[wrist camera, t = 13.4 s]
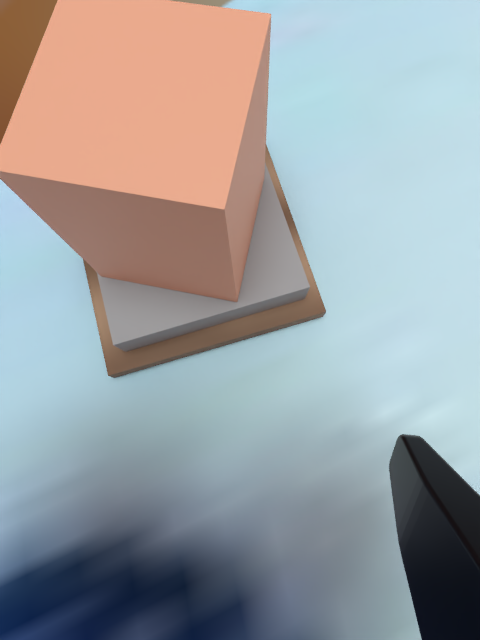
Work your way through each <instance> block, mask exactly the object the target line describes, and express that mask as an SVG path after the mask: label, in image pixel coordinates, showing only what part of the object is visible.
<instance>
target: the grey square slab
mask: <svg viewBox="0 0 480 640" xmlns="http://www.w3.org/2000/svg"><path fill="white" fill-rule="evenodd" d="M97 276H98V280H99V285H100V289H101V293H102V298H103V302H104V307H105V311H106V315H107V320H108V324H109V329H110V333H111V337H112V342H113V345H114V346H116V347H117V348H119V349H121V350H123V351H125V352H127V351H131V350H134V349H137V348H141V347H144V346H147V345H151V344H154V343H158V342H161V341H164V340H168V339H171V338H174V337H178V336H181V335H185V334H188V333H191V332H195V331H198V330H201V329H205V328H208V327H211V326H215V325H218V324H222V323H225V322H228V321H232V320H235V319H238V318H242V317H245V316H249V315H252V314H255V313H259V312H262V311H265V310H269V309H272V308H276V307H279V306H282V305H286V304H289V303H292V302H296V301H299V300H303V299H305V297H306V295H307V293H308V291H309V288H310V285H309V283H308V280H307V277H306V274H305V272H304V269H303V266H302V263H301V260H300V258H299V255H298V252H297V249H296V247H295V244H294V241H293V238H292V235H291V233H290V230H289V227H288V224H287V222H286V219H285V216H284V213H283V210H282V208H281V205H280V202H279V199H278V197H277V194H276V191H275V188H274V185H273V183H272V180H271V177H270V174H269V172H268V169H267V166H266V163H265V174H264V182H263V186H262V191H261V195H260V200H259V205H258V209H257V214H256V218H255V223H254V228H253V232H252V237H251V241H250V246H249V251H248V255H247V260H246V264H245V269H244V274H243V278H242V283H241V288H240V292H239V297H238V301H237V302H234V301H228V300H223V299H218V298H212V297H207V296H202V295H197V294H191V293H186V292H181V291H175V290H170V289H165V288H160V287H154V286H149V285H144V284H139V283H133V282H128V281H123V280H117V279H112V278H107V277H102V276H100V275H99V274H98V273H97Z"/></svg>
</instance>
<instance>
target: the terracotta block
mask: <svg viewBox="0 0 480 640" xmlns="http://www.w3.org/2000/svg"><path fill="white" fill-rule="evenodd" d="M270 30H271V14H268V13H261V12H253V11H245V10H238V9H230V8H222V7H215V6H207V5H199V4H191V3H184V2H176V1H168V0H58V2H57V4H56V6H55V9H54V11H53V14H52V17H51V19H50V21H49V24H48V27H47V29H46V32H45V34H44V37H43V39H42V42H41V44H40V47H39V49H38V52H37V54H36V57H35V59H34V62H33V64H32V67H31V69H30V72H29V74H28V77H27V79H26V82H25V84H24V87H23V90H22V92H21V95H20V98H19V100H18V102H17V105H16V107H15V110H14V112H13V115H12V117H11V120H10V122H9V125H8V127H7V130H6V132H5V135H4V137H3V140H2V142H1V145H0V179H1V180H2V181H3V182H4V183H5V184H6V185H7V186H8V187H9V188H10V189H11V190H12V191H13V192H15V193H16V194H17V195H18V196H19V197H20V198H21V199H22V200H23V201H24V202H25V203H26V204H27V205H28V206H29V207H30V208H31V209H32V210H33V211H34V212H35V213H36V214H37V215H38V216H39V217H40V218H41V219H42V220H43V221H44V222H46V223H47V224H48V225H49V226H50V227H51V228H52V229H53V230H54V231H55V232H56V233H57V234H58V235H59V236H60V237H61V238H62V239H63V240H64V241H65V242H66V243H67V244H68V245H69V246H70V247H71V248H72V249H73V250H74V251H75V252H77V253H78V254H79V255H80V256H81V257H82V258H83V259H84V260H85V261H86V262H87V263H88V264H89V265H90V266H91V267H92V268H93V269H94V270H95V271H96V272H97V273H98V274H99V275H100V276H102V277H107V278H112V279H117V280H123V281H128V282H133V283H139V284H144V285H149V286H154V287H160V288H165V289H170V290H175V291H181V292H186V293H191V294H197V295H202V296H207V297H212V298H218V299H223V300H228V301H234V302H237V301H238V297H239V292H240V288H241V283H242V278H243V274H244V269H245V264H246V260H247V255H248V251H249V246H250V241H251V237H252V232H253V228H254V223H255V218H256V214H257V209H258V205H259V200H260V195H261V191H262V186H263V182H264V174H265V150H266V126H267V102H268V78H269V54H270Z"/></svg>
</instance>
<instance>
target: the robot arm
mask: <svg viewBox="0 0 480 640" xmlns="http://www.w3.org/2000/svg"><path fill="white" fill-rule="evenodd" d="M389 472H390V480H391V488H392V496H393V503H394V511H395V519H396V527H397V534H398V541H399V546H400V551H401V555H402V560H403V564H404V568H405V572H406V576H407V580H408V584H409V588H410V592H411V597H412V601H413V605H414V609H415V613H416V617H417V621H418V625H419V629H420V634H421V638H422V640H480V495H479V494H478V493H477V492H476V491H475V490H474V489H473V488H472V487H471V486H470V485H469V484H468V483H467V482H466V481H465V480H464V479H463V478H462V477H461V476H460V475H459V474H458V473H457V472H456V471H455V470H454V469H453V468H452V467H451V466H450V465H449V464H448V463H447V462H446V461H445V460H444V459H443V458H442V457H441V456H440V455H439V454H438V453H437V452H436V451H435V450H434V449H433V448H432V447H431V446H430V445H429V444H428V443H427V442H426V441H425V440H424V439H423V438H421V437H420V436H415V435H405V434H402V435H400V436H399V437H398V439H397V441H396V444H395V447H394V450H393V453H392V456H391V459H390V464H389Z"/></svg>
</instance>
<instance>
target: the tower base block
mask: <svg viewBox="0 0 480 640" xmlns="http://www.w3.org/2000/svg"><path fill="white" fill-rule="evenodd" d="M265 163H266V166H267V169H268V172H269V174H270V177H271V180H272V183H273V185H274V188H275V191H276V194H277V197H278V199H279V202H280V205H281V208H282V210H283V213H284V216H285V219H286V222H287V224H288V227H289V230H290V233H291V235H292V238H293V241H294V244H295V247H296V249H297V252H298V255H299V258H300V260H301V263H302V266H303V269H304V272H305V274H306V277H307V280H308V283H309V285H310V288H309V291H308V293H307V295H306V297H305V299H303V300H299V301H296V302H292V303H289V304H286V305H282V306H279V307H276V308H272V309H269V310H265V311H262V312H259V313H255V314H252V315H249V316H245V317H242V318H238V319H235V320H232V321H228V322H225V323H222V324H218V325H215V326H211V327H208V328H205V329H201V330H198V331H195V332H191V333H188V334H185V335H181V336H178V337H174V338H171V339H168V340H164V341H161V342H158V343H154V344H151V345H147V346H144V347H141V348H137V349H134V350H131V351H127V352H125V351H123V350H121V349H119V348H117V347H116V346H114V345H113V342H112V337H111V333H110V329H109V324H108V320H107V315H106V311H105V307H104V302H103V298H102V293H101V289H100V285H99V280H98V276H97V272H96V271H95V270H94V269H93V268H92V267H91V266H90V265H89V264H88V263H87V262H86V261H85V260H84V259H83V261H84V265H85V270H86V275H87V279H88V284H89V289H90V293H91V298H92V303H93V307H94V312H95V317H96V321H97V326H98V331H99V335H100V340H101V344H102V349H103V354H104V358H105V363H106V368H107V372H108V376H111V377H114V378H115V377H119V376H122V375H126V374H129V373H132V372H136V371H139V370H143V369H146V368H149V367H153V366H156V365H160V364H163V363H166V362H170V361H173V360H177V359H180V358H183V357H187V356H190V355H194V354H197V353H200V352H204V351H207V350H211V349H214V348H217V347H221V346H224V345H228V344H231V343H234V342H238V341H241V340H245V339H248V338H251V337H255V336H258V335H262V334H265V333H268V332H272V331H275V330H279V329H282V328H286V327H289V326H292V325H296V324H299V323H303V322H306V321H309V320H313V319H316V318H320V317H323V315H324V314H325V312H326V310H325V307H324V304H323V302H322V299H321V296H320V293H319V291H318V288H317V285H316V282H315V279H314V277H313V274H312V271H311V268H310V265H309V263H308V260H307V257H306V254H305V252H304V249H303V246H302V243H301V240H300V238H299V235H298V232H297V229H296V226H295V224H294V221H293V218H292V215H291V213H290V210H289V207H288V204H287V201H286V199H285V196H284V193H283V190H282V187H281V185H280V182H279V179H278V176H277V173H276V171H275V168H274V165H273V162H272V160H271V157H270V154H269V151H268V148H267V146H266V150H265Z"/></svg>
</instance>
